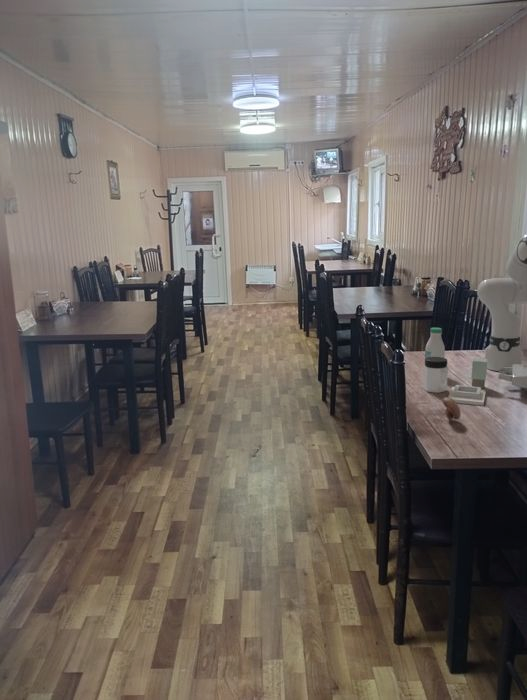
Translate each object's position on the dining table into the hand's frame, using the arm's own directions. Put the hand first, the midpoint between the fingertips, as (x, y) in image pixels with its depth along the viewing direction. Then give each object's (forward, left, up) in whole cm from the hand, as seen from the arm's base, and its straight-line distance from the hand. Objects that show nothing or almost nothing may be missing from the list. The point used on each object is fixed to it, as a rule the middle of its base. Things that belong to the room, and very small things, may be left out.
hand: (498, 373), depth 213 cm
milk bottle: (-12, -25, -7) cm, 28 cm away
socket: (+14, -10, -6) cm, 18 cm away
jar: (+8, -22, -7) cm, 24 cm away
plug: (0, -7, -7) cm, 9 cm away
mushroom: (+42, -13, -7) cm, 45 cm away
